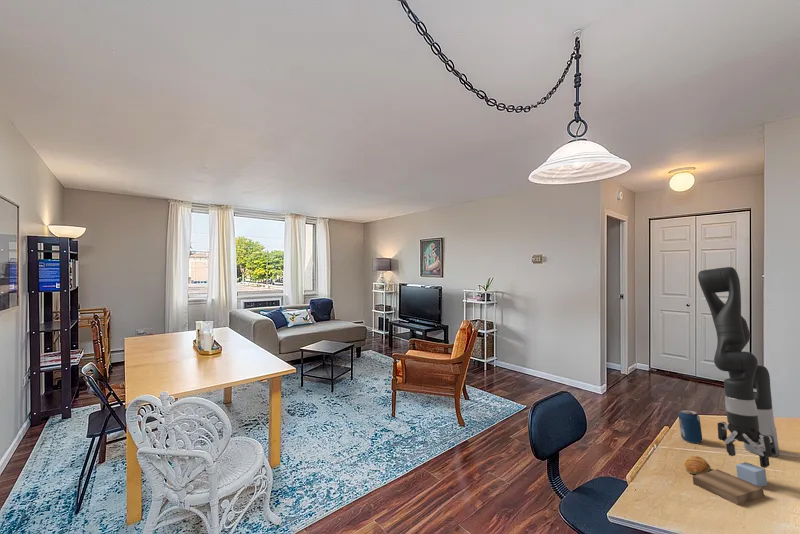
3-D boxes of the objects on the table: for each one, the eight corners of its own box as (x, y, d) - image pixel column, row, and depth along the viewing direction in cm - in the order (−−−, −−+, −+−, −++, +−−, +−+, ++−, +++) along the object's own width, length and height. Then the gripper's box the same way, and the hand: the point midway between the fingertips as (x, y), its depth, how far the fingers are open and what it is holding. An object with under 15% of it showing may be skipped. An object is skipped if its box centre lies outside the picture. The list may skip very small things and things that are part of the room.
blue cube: (748, 477, 114) (746, 462, 115) (767, 485, 109) (765, 469, 110) (738, 480, 113) (736, 464, 113) (757, 488, 108) (755, 472, 109)
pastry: (707, 479, 114) (705, 468, 115) (681, 472, 119) (680, 461, 120) (711, 469, 120) (709, 458, 121) (687, 463, 126) (685, 452, 126)
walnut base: (718, 478, 115) (717, 469, 116) (764, 498, 104) (763, 487, 104) (693, 485, 112) (692, 476, 112) (738, 506, 100) (736, 496, 101)
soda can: (706, 441, 140) (702, 412, 141) (696, 445, 138) (693, 415, 139) (687, 435, 147) (683, 407, 148) (677, 439, 144) (674, 410, 145)
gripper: (777, 416, 107) (784, 469, 106) (724, 403, 121) (729, 450, 120) (761, 419, 105) (768, 473, 104) (709, 406, 119) (714, 453, 118)
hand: (747, 461), depth 112 cm, fingers open, 8 cm apart
